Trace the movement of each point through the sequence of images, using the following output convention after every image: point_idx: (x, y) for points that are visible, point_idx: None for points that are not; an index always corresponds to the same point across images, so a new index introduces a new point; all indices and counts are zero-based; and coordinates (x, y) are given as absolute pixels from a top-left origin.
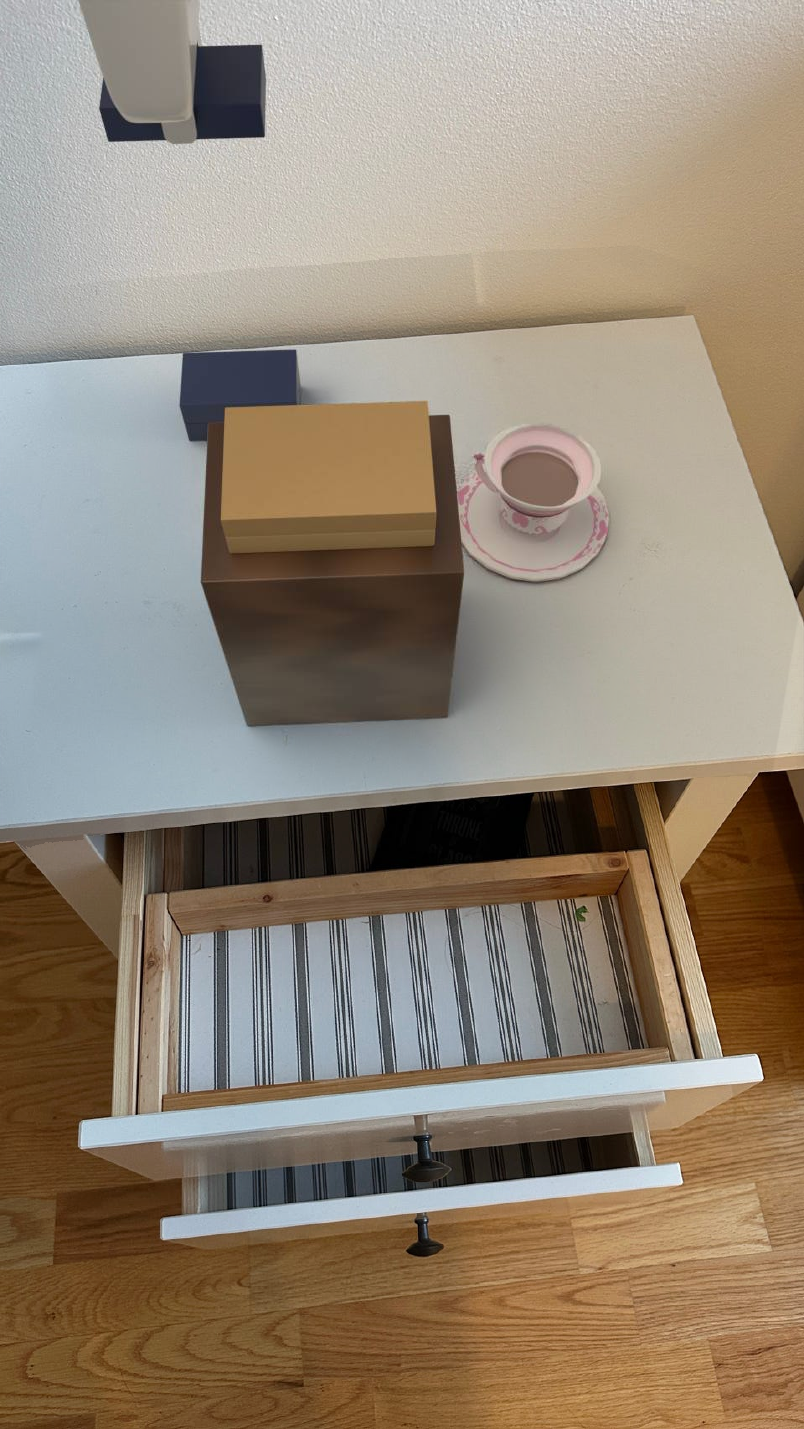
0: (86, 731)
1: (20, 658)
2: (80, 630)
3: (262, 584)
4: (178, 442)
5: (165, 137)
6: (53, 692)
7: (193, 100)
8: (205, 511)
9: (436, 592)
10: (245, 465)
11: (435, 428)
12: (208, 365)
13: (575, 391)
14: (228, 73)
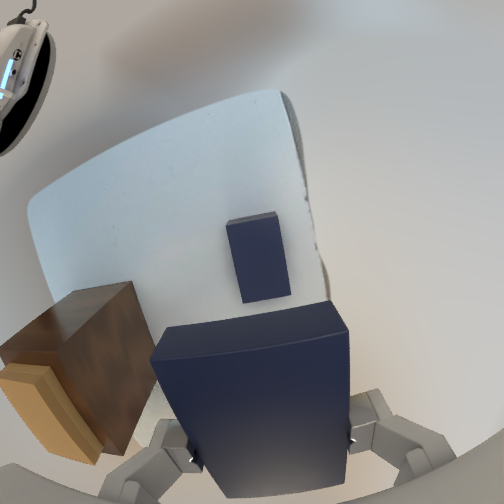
0: (54, 219)
1: (76, 172)
2: (93, 196)
3: None
4: (227, 213)
5: (158, 421)
6: (64, 196)
7: (202, 468)
8: (17, 351)
9: None
10: (16, 390)
11: (112, 450)
12: (267, 237)
13: None
14: (282, 478)
